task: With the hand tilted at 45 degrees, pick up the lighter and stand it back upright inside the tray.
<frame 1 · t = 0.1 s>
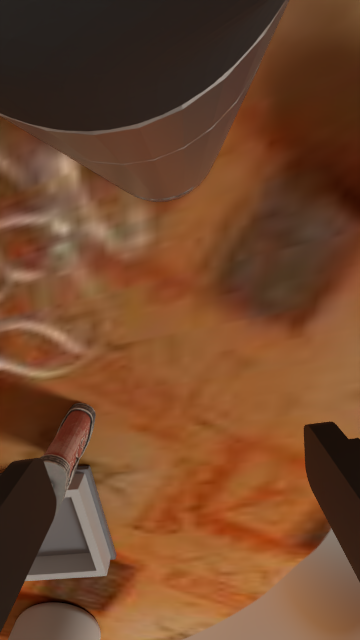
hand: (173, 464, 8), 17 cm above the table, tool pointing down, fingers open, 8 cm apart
cylinder vase: (60, 623, 41), on the table
lighter: (76, 431, 30), on the table
tray: (44, 517, 34), on the table
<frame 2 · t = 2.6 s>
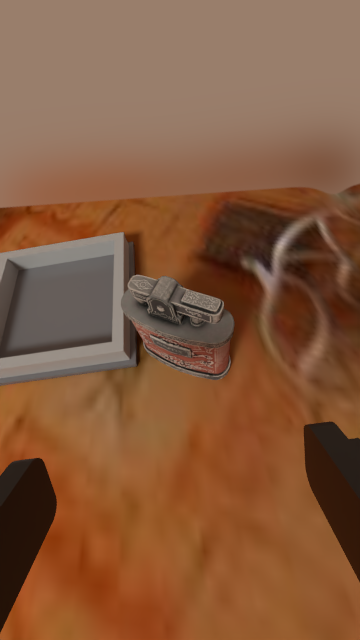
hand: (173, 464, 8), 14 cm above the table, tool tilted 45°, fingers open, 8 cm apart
lighter: (186, 354, 25), on the table
tray: (65, 308, 29), on the table
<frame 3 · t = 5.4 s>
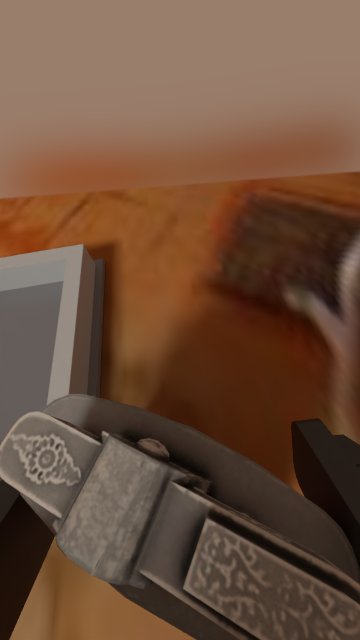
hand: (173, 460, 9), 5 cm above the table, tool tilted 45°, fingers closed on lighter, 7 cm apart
lighter: (192, 488, 13), on the table, touching gripper
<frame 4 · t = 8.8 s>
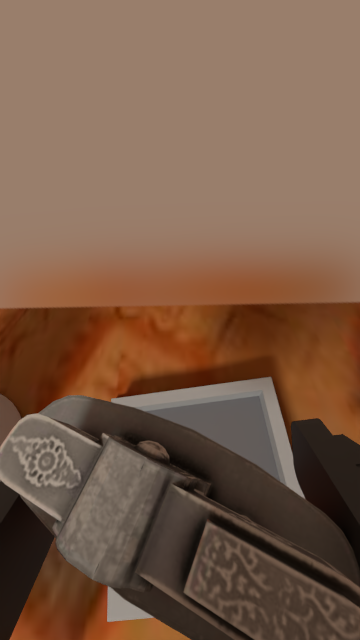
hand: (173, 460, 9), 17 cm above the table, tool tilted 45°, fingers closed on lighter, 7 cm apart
lighter: (192, 489, 13), point 11 cm above the table, touching gripper
tray: (203, 480, 23), on the table
when the fingers open (6 cm above the table, at t = 12.6 s): lighter stays where it is, resting on tray.
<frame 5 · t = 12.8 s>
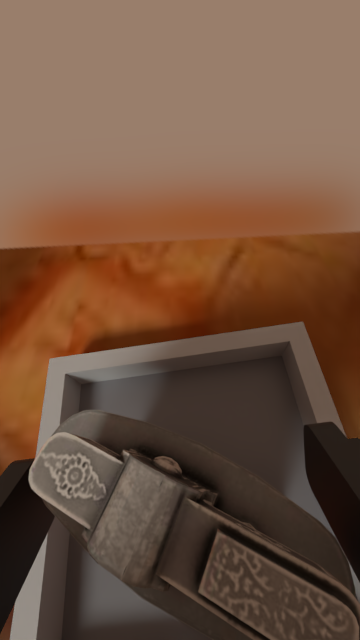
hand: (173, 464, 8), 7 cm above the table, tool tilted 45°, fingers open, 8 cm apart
lighter: (196, 493, 13), resting on tray
tray: (193, 488, 14), on the table
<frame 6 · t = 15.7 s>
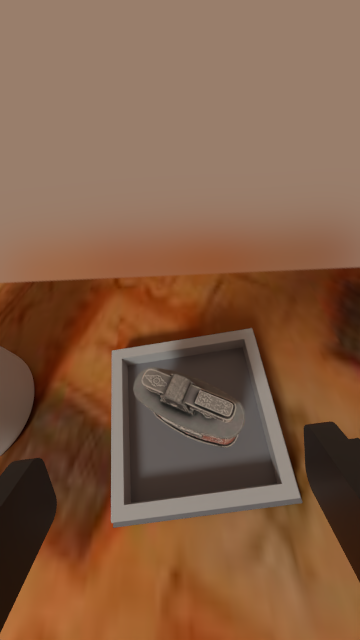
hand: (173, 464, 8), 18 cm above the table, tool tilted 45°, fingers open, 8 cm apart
lighter: (194, 419, 25), resting on tray
tray: (193, 417, 26), on the table
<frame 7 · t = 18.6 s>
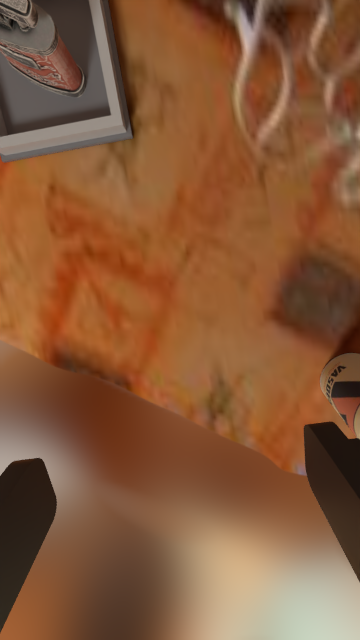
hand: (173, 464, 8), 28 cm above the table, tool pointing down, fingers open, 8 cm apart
lighter: (50, 72, 29), resting on tray
tray: (49, 71, 29), on the table
coffee cup: (346, 377, 38), on the table
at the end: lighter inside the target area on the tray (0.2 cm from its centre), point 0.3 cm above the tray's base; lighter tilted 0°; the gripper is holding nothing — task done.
